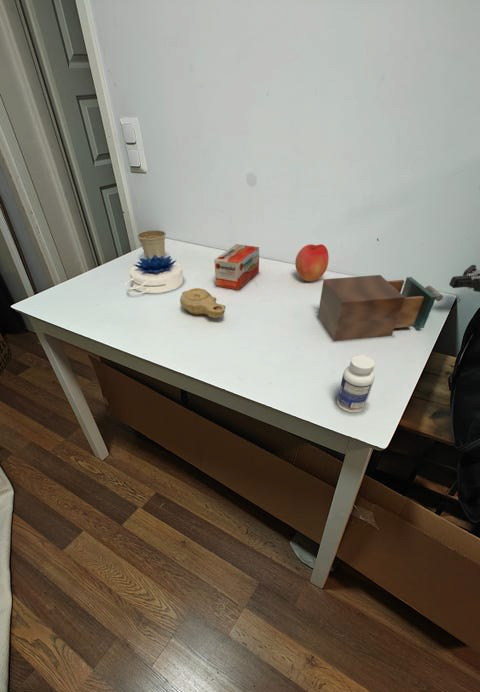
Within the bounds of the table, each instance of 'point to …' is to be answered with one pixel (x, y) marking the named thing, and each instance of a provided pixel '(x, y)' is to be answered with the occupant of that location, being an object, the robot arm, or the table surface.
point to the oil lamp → (201, 303)
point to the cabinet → (359, 307)
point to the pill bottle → (356, 384)
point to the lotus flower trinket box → (155, 275)
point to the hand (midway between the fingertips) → (452, 282)
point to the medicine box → (236, 266)
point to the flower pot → (153, 243)
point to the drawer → (415, 302)
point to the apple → (312, 262)
